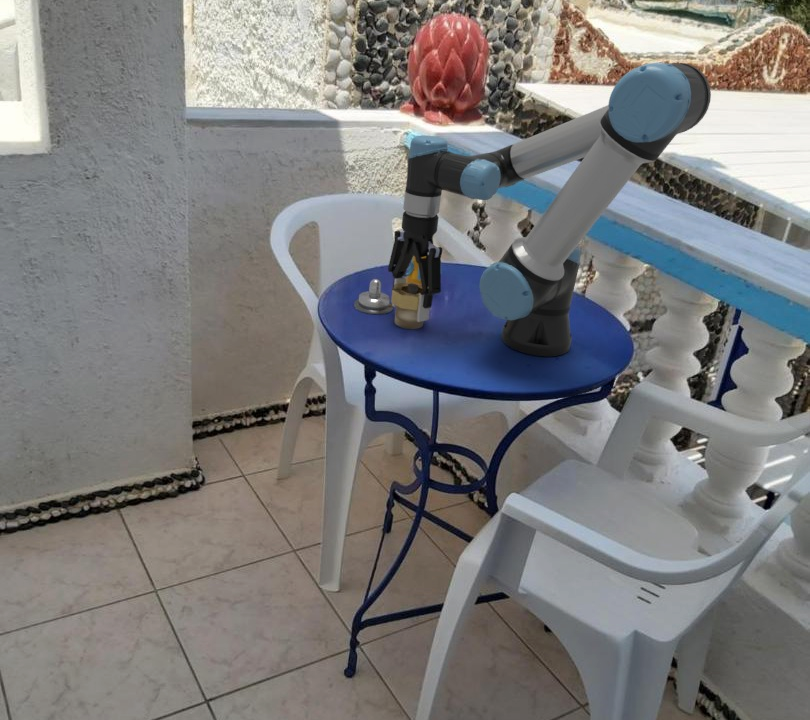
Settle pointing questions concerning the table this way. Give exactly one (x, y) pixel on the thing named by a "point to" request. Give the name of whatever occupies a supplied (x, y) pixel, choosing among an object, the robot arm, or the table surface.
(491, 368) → the table surface
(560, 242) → the robot arm
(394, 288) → the ring
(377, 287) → the hub
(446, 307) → the table surface
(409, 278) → the cylinder
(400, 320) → the stand
